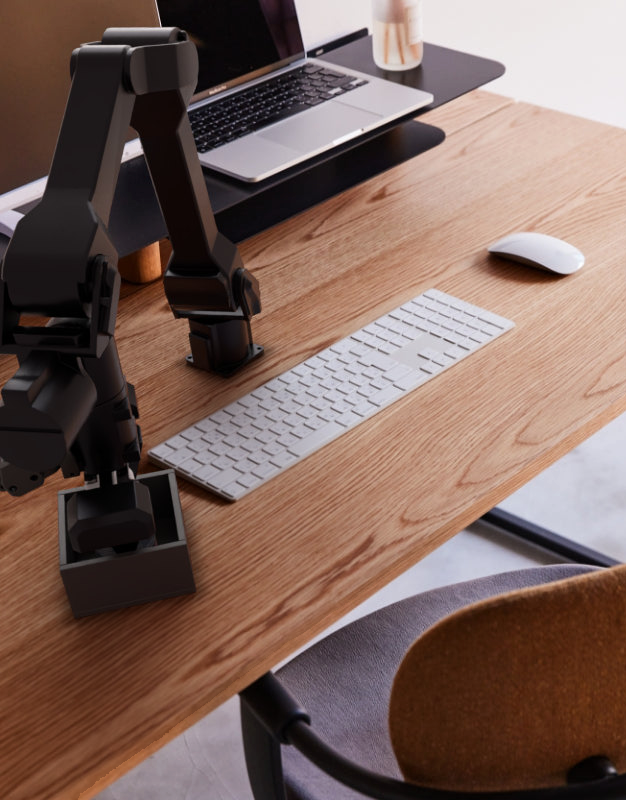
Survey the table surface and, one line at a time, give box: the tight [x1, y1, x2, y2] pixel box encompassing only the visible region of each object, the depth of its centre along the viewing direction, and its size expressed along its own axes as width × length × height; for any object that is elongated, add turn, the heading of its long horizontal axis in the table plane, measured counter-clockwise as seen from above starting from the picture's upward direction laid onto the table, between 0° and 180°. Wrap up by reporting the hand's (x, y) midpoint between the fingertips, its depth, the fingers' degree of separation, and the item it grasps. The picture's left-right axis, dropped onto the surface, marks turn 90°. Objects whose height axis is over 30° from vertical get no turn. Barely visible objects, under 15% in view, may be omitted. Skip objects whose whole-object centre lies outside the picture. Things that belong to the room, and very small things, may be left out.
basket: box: [56, 468, 197, 620], centre depth 92 cm, size 10×10×6 cm
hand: (124, 535), depth 92 cm, fingers closed on pill bottle, 5 cm apart
